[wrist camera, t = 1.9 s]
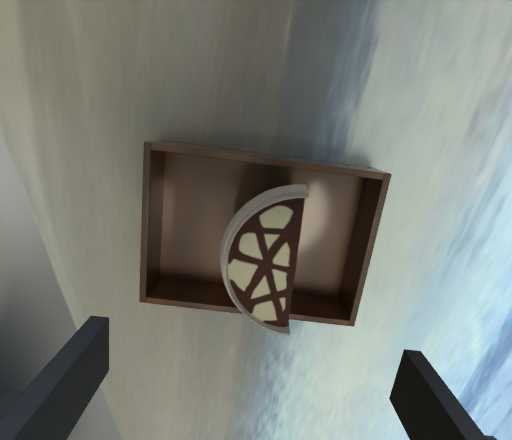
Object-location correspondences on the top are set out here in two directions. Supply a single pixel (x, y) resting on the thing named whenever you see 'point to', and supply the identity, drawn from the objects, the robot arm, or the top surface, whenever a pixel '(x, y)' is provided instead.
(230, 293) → the food container
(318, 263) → the wooden tray
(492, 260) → the top surface
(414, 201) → the top surface
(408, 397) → the robot arm
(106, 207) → the top surface
